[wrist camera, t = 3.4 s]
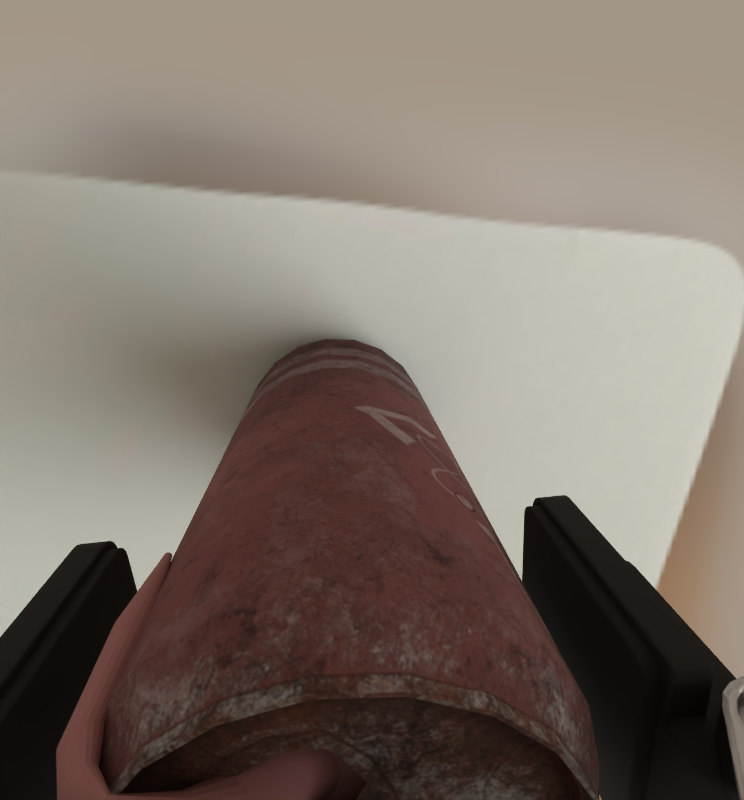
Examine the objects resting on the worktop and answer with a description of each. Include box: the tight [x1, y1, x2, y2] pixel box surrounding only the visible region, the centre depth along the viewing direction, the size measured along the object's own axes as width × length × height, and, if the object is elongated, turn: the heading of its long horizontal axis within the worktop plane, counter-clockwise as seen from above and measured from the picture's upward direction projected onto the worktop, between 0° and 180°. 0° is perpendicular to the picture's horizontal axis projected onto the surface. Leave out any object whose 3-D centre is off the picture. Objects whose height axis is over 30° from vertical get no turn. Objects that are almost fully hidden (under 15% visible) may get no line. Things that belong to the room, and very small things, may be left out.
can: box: [56, 339, 599, 800], centre depth 12 cm, size 6×6×14 cm
